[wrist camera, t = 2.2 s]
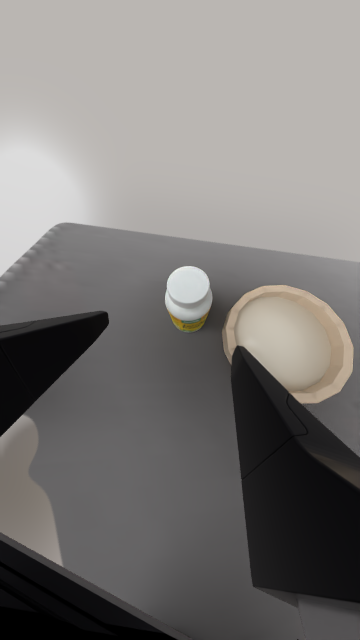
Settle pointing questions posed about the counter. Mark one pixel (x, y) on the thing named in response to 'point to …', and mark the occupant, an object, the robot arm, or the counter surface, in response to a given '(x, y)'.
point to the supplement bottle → (188, 298)
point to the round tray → (292, 340)
